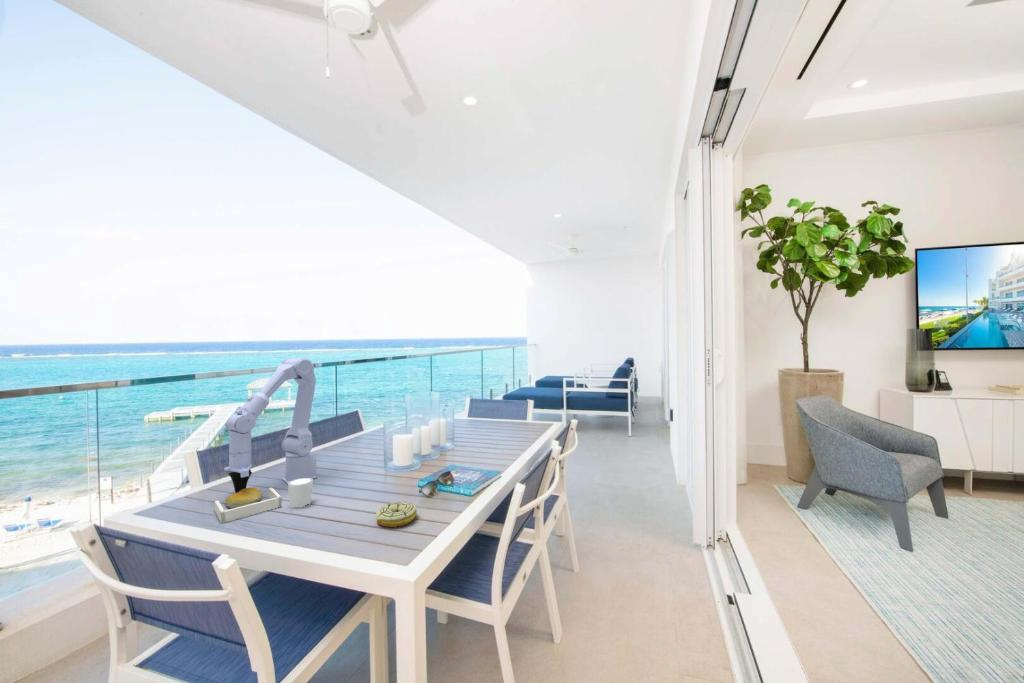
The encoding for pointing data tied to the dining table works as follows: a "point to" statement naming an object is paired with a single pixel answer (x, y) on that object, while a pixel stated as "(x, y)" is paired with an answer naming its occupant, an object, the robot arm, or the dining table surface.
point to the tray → (248, 508)
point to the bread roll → (243, 497)
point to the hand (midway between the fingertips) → (240, 494)
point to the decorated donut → (396, 514)
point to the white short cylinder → (300, 491)
